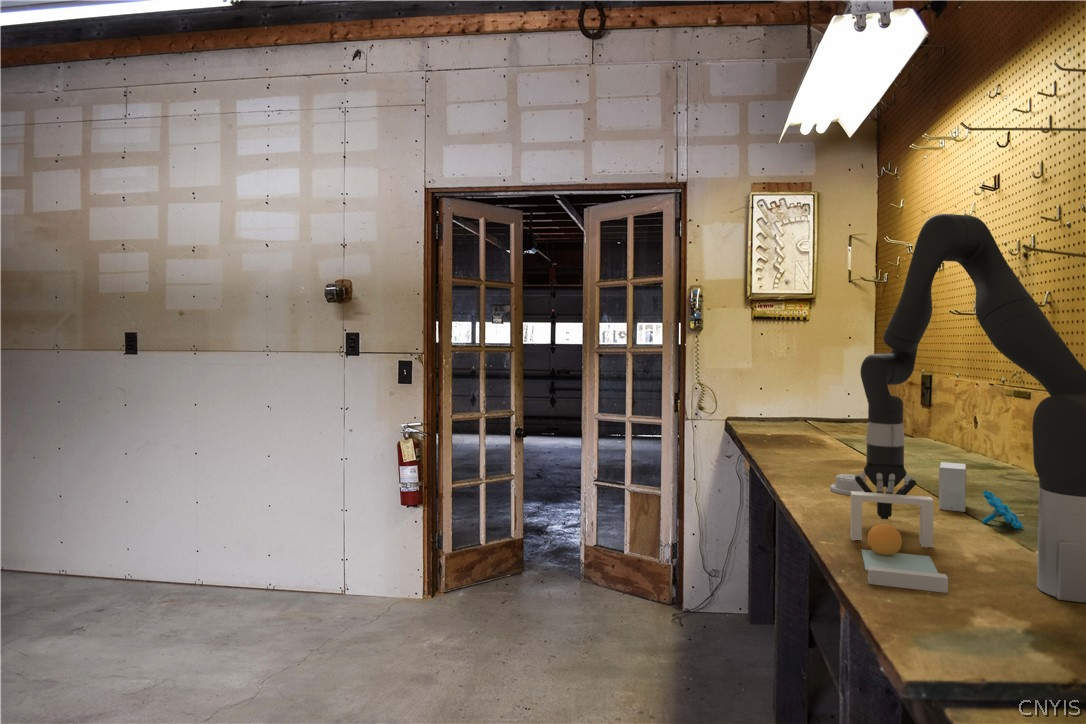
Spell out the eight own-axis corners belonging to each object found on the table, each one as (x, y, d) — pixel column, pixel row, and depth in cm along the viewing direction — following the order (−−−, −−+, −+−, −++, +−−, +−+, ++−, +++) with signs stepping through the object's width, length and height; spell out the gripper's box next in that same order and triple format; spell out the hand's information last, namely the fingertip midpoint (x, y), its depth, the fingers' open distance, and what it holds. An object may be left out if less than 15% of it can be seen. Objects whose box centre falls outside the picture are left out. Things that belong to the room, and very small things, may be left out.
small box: (965, 512, 161) (966, 469, 161) (938, 509, 164) (939, 467, 164) (965, 505, 168) (966, 463, 168) (939, 502, 171) (940, 461, 171)
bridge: (932, 547, 136) (933, 500, 136) (851, 540, 142) (851, 494, 141) (930, 543, 139) (931, 496, 138) (850, 536, 144) (850, 491, 144)
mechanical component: (877, 496, 179) (859, 487, 189) (878, 480, 179) (859, 472, 189) (840, 497, 179) (824, 488, 189) (840, 480, 179) (824, 472, 189)
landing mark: (940, 578, 119) (940, 577, 119) (865, 570, 124) (865, 569, 124) (929, 557, 130) (929, 556, 130) (861, 550, 135) (861, 549, 135)
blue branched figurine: (1020, 527, 144) (983, 489, 149) (996, 543, 146) (960, 505, 152) (1030, 523, 151) (994, 487, 157) (1007, 538, 154) (973, 502, 159)
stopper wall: (947, 593, 113) (948, 578, 113) (868, 583, 117) (868, 569, 117) (945, 588, 115) (945, 574, 115) (867, 579, 119) (867, 565, 119)
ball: (901, 544, 134) (903, 562, 129) (868, 543, 137) (869, 561, 132) (899, 518, 132) (901, 535, 127) (866, 517, 135) (866, 534, 130)
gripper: (853, 443, 150) (853, 520, 151) (921, 446, 145) (920, 525, 146) (851, 438, 157) (851, 511, 158) (916, 441, 152) (915, 516, 153)
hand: (884, 518), depth 152 cm, fingers closed
